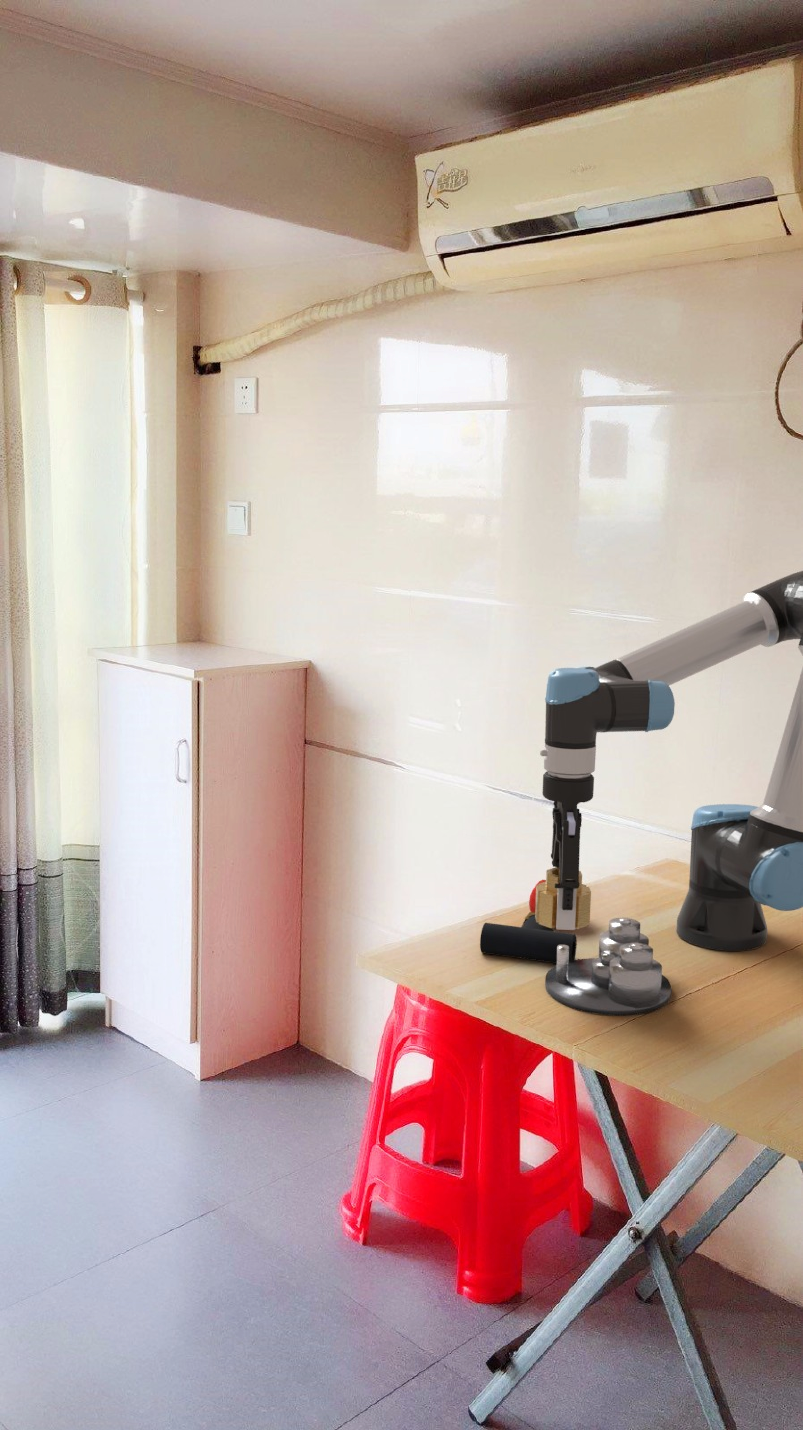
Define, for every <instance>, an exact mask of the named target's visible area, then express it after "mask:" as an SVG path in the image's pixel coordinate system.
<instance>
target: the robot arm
mask: <svg viewBox="0 0 803 1430" xmlns="http://www.w3.org/2000/svg"><path fill="white" fill-rule="evenodd" d="M790 640H799V642H798V646H797V648H798V650H799V651H800V654H801V656H803V570H800V571H797V572H794V573H791V574H789V575H786V576H784V577H781V578H778V579H777V580H774V581H772V582H770V583H767V584H766V585H763V586H761V587H759V588H756V589H754V590H752V591H750V592H748V593H746V594H744V595H743V597H741V601H740V603H738V604H736V605H733V606H731V607H728V608H727V609H724V610H723V611H720V612H717V613H716V614H713V615H711V616H709V617H707V618H704V619H703V620H700V621H697V622H696V623H694V624H691V625H690V626H687V627H684V628H683V629H680V630H678V631H675V632H674V633H671V634H669V635H667V636H665V637H663V638H660V639H657V640H656V641H653V642H651V643H649V644H646V645H645V646H642V647H640V648H638V649H636V650H633V651H632V652H629V653H627V654H625V655H623V656H620V657H618V658H615V659H613V660H610V661H608V662H606V663H604V664H601V665H598V666H597V667H594V666H581V667H561V668H555V669H553V670H552V671H550V673H549V674H548V678H547V683H546V691H545V692H546V693H545V698H544V700H545V731H544V736H545V738H544V749H541V750H540V752H539V753H540V754H539V755H540V756H541V757H543V759H544V760H543V769H544V770H545V772H544V773H543V776H542V796H543V798H544V799H546V800H548V801H550V802H553V808H552V811H551V812H552V813H551V814H552V819H553V822H552V841H551V842H552V843H551V854H550V858H551V860H552V861H551V865H552V868H556V867H558V868H560V882H559V884H554V886H555V888H558V894H557V918H556V927H555V929H556V930H557V931H558V930H561V931H565V930H566V931H576V928H575V917H576V895H577V888H579V871H580V849H581V847H580V845H581V843H580V842H581V841H580V840H581V828H582V822H583V821H582V820H583V817H582V816H583V815H582V813H581V812H580V808H578V805H579V804H581V803H583V804H585V803H588V802H590V801H591V800H593V798H594V786H595V785H594V784H595V777H594V775H593V773H594V772H595V770H596V758H597V757H596V752H597V734H598V733H614V732H615V733H616V732H617V733H619V732H620V733H621V732H622V733H623V732H624V733H625V732H645V733H648V732H653V731H659V730H660V731H661V730H665V729H666V728H667V727H669V726H670V724H671V723H672V721H673V718H674V715H675V705H676V704H675V697H674V693H673V690H672V689H671V687H670V686H671V685H674V684H676V683H678V682H680V681H682V680H685V679H687V678H689V677H691V676H693V675H695V674H698V673H701V672H703V671H705V670H707V669H709V668H711V667H713V666H716V665H718V664H720V663H722V662H725V661H727V660H729V659H731V658H733V657H735V656H738V655H741V654H742V653H744V652H748V651H749V650H751V649H754V648H756V647H758V646H760V645H761V646H762V647H767V648H769V647H772V646H775V645H776V644H780V643H781V642H786V641H790ZM690 830H691V839H690V840H691V842H690V859H689V860H690V861H689V880H688V881H689V883H688V890H687V893H686V895H685V898H684V901H683V903H682V906H681V907H680V911H679V913H678V915H677V919H676V928H675V929H676V930H675V932H676V934H677V936H678V937H679V938H681V939H682V940H684V941H685V942H687V943H689V944H691V945H694V946H697V947H701V948H705V949H709V950H710V949H711V950H716V951H726V952H738V951H739V952H742V951H751V950H755V949H758V948H761V947H763V946H764V945H765V944H766V943H767V941H768V940H767V939H768V925H767V922H766V918H765V915H764V911H763V907H762V906H766V907H769V908H771V909H774V910H777V911H783V912H790V911H796V910H800V909H803V667H802V669H801V672H800V675H799V680H798V682H797V686H796V688H795V692H794V697H793V700H792V703H791V705H790V710H789V714H788V717H787V720H786V723H785V727H784V731H783V733H782V737H781V740H780V743H779V748H778V751H777V754H776V758H775V762H774V765H773V767H772V771H771V775H770V779H769V782H768V784H767V789H766V793H765V796H764V799H763V803H762V804H761V805H760V806H756V805H750V804H736V803H734V804H733V803H727V804H724V803H723V804H718V803H717V804H708V805H707V804H706V805H702V806H700V807H698V808H696V809H695V811H694V813H693V816H692V823H691V826H690ZM566 879H573V880H566ZM764 943H765V944H764ZM763 944H764V945H763ZM762 945H763V946H762Z"/></svg>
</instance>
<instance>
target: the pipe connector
mask: <svg viewBox="0 0 803 1430" xmlns="http://www.w3.org/2000/svg"><path fill="white" fill-rule="evenodd" d="M577 940H578V939H577V935H576V933H567V932H562V931H561V932H560V931H555V927H554V928H549V927H546V926H543V925H540V924H539V922H536V918H535V913H533V912H531V911H530V912H529V913H528V914H527V915H526V916H525V918H524V920H523V923H522V925H521V926H516V925H515V926H514V925H506V924H499V923H492V922H491V923H490V922H485V923H484V924H483V926H482V927H481V932H480V939H479V948H480V949H479V950H480V951H481V952H480V953H482V954H488V955H494V956H502V957H511V958H517V959H524V960H531V961H539V962H545V963H553V964H557V946H558V945H567V946H569V961H572V960H576V954H577V945H578V944H577Z"/></svg>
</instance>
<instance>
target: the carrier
mask: <svg viewBox="0 0 803 1430" xmlns="http://www.w3.org/2000/svg"><path fill="white" fill-rule="evenodd" d="M608 924H609V925H608V930H607V931H603V932H601V933H600V934H599V943H598V944H599V947H598V957H596V958H595V957H594V958H593V957H591V958H590V957H589V958H579V959H578V958H577V959H575V960H572V961H569V946H567V945H558V946H557V963H556V965H554V966H553V967H552V968H550V969H549V970H547V973H546V974H545V978H544V979H545V984H544V985H545V986H544V987H545V990H546V992H547V994H548V995H549V996H550V997H551V998H552V999H554V1000H555V1001H556V1002H558V1003H560V1004H562V1005H563V1006H566V1007H568V1006H569V1008H571V1007H572V1009H574V1008H575V1009H574V1010H577V1011H581V1010H582V1011H581V1012H584V1011H585V1012H584V1013H590V1014H595V1015H603V1016H604V1015H605V1016H618V1017H619V1016H634V1015H635V1016H636V1015H642V1014H648V1013H651V1012H654V1011H657V1010H659V1009H661V1008H663V1007H665V1006H666V1005H667V1004H668V1003H669V1002H670V1000H671V996H672V984H671V982H670V980H669V979H668V978H667V977H666V976H665V975H663V974H662V973H663V966H662V964H661V963H660V962H659V961H657V960H656V959H654V949H653V947H651V946H650V944H649V943H650V939H649V937H648V936H647V935H645V934H643V933H641V923H640V921H638V920H637V919H634V918H629V917H615V918H611V919H610V920H609V921H608Z"/></svg>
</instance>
